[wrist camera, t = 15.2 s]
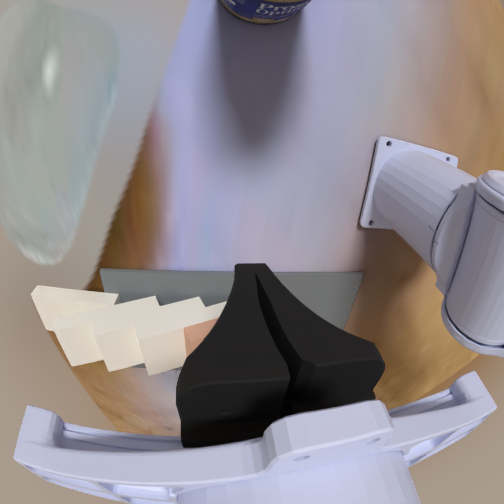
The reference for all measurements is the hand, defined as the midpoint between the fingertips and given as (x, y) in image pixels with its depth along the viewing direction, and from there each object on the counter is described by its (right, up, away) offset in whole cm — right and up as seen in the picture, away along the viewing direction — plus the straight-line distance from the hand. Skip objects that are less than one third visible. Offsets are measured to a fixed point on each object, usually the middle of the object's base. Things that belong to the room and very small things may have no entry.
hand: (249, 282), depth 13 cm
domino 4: (-1, -5, +14) cm, 15 cm away
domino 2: (-9, -5, +13) cm, 16 cm away
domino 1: (-12, -5, +12) cm, 18 cm away
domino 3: (-5, -5, +14) cm, 15 cm away
